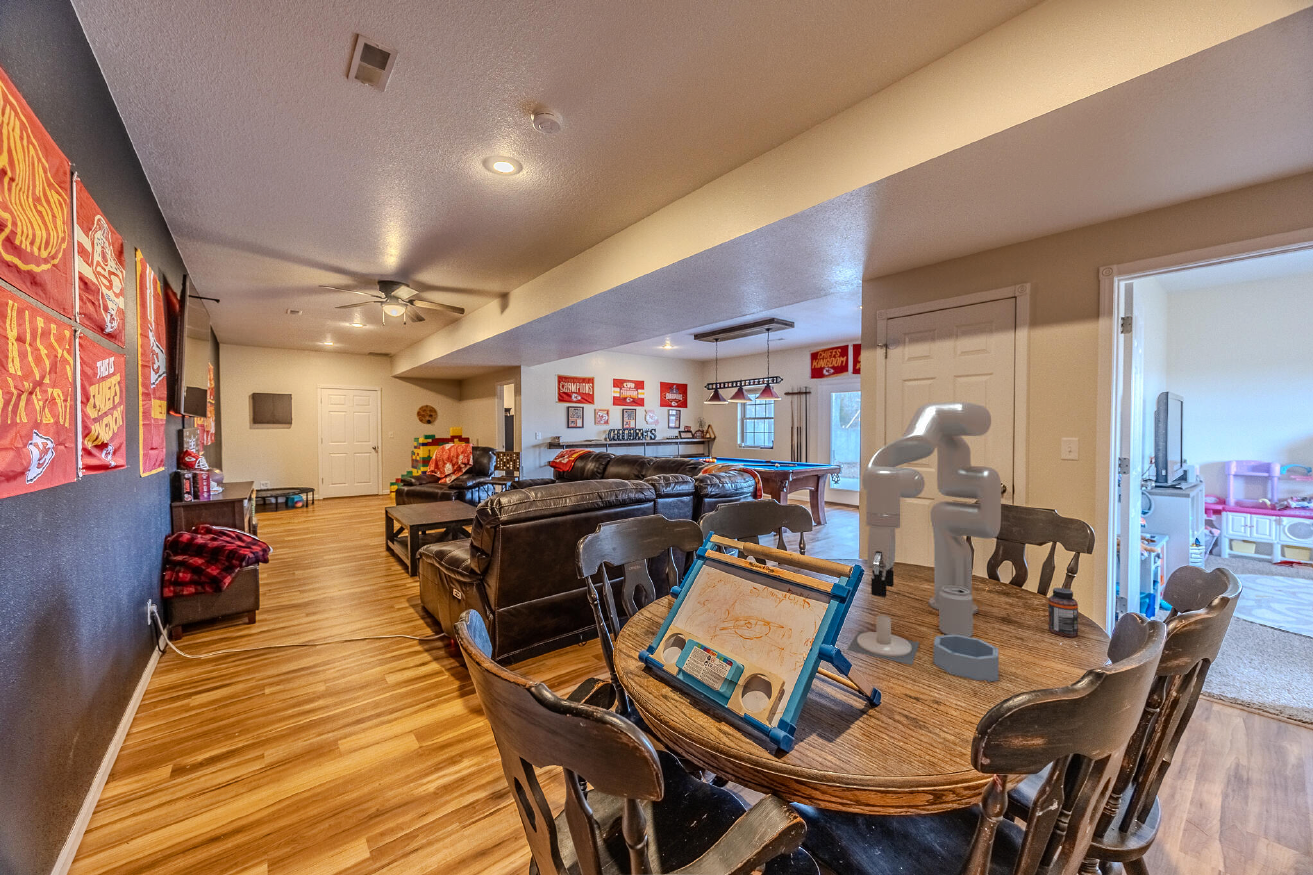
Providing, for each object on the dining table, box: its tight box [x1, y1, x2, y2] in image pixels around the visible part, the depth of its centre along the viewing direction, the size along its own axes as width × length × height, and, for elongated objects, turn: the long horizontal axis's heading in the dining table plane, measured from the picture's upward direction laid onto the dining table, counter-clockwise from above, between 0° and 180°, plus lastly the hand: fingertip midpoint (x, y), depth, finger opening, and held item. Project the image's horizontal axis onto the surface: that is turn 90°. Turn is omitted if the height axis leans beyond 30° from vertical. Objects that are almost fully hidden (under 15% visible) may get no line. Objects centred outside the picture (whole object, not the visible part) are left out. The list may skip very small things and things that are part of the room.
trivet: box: [846, 629, 921, 666], centre depth 120 cm, size 14×14×1 cm
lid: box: [857, 614, 911, 657], centre depth 120 cm, size 12×12×7 cm
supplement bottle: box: [1047, 587, 1079, 638], centre depth 128 cm, size 6×6×11 cm
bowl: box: [933, 634, 1000, 683], centre depth 110 cm, size 12×12×5 cm
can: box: [938, 586, 974, 638], centre depth 128 cm, size 8×8×12 cm
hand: (882, 590), depth 120 cm, fingers open, 9 cm apart
